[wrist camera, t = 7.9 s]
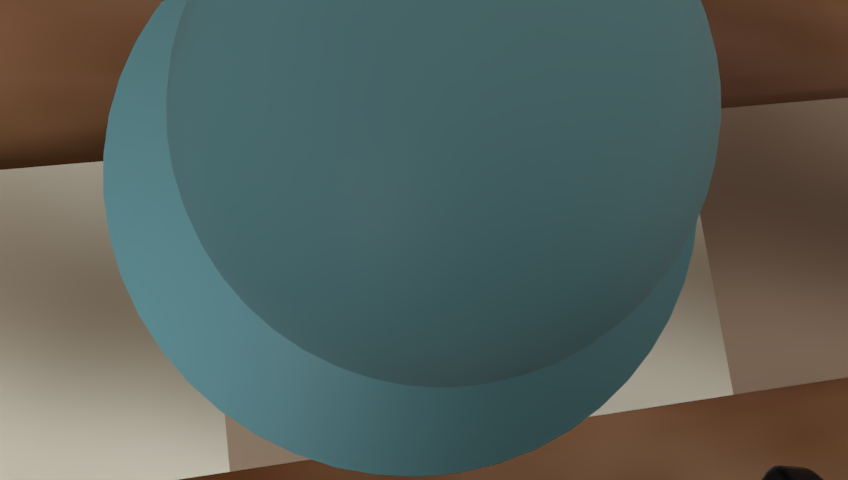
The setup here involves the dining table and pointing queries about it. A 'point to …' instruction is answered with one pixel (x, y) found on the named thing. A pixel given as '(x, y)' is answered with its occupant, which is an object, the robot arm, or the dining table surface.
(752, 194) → the board
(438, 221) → the pawn
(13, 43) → the dining table surface
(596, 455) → the dining table surface
